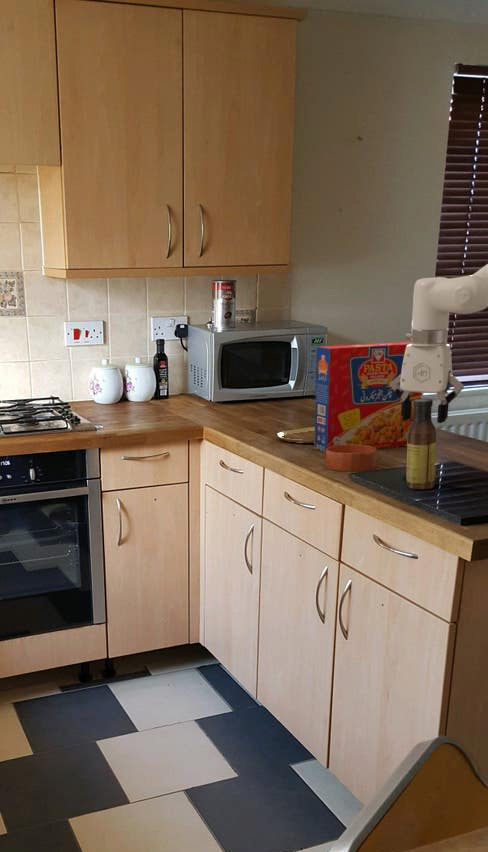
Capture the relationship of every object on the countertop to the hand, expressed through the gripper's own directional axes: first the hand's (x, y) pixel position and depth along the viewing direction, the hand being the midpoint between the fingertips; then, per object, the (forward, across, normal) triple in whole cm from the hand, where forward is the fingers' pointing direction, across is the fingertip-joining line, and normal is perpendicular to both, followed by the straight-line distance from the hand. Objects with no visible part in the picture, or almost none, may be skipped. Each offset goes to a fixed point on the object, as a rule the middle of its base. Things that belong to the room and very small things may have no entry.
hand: (423, 420), depth 193 cm
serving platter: (+16, -49, +51) cm, 72 cm away
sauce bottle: (+15, 0, 0) cm, 15 cm away
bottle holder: (+15, -24, +14) cm, 32 cm away
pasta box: (+16, -32, +40) cm, 54 cm away
